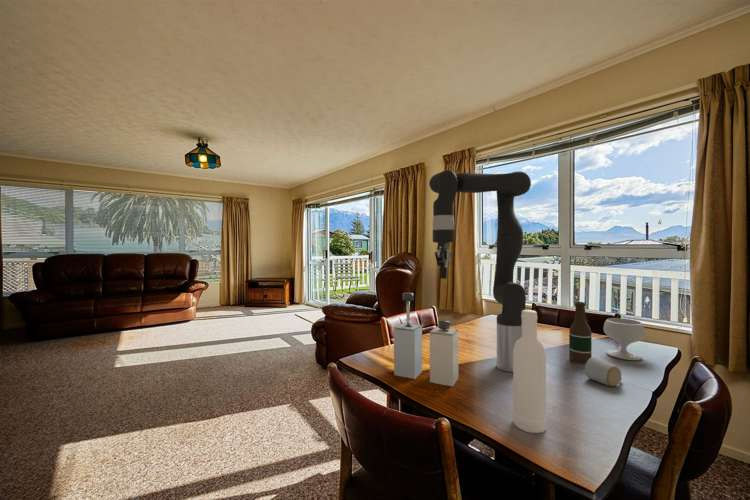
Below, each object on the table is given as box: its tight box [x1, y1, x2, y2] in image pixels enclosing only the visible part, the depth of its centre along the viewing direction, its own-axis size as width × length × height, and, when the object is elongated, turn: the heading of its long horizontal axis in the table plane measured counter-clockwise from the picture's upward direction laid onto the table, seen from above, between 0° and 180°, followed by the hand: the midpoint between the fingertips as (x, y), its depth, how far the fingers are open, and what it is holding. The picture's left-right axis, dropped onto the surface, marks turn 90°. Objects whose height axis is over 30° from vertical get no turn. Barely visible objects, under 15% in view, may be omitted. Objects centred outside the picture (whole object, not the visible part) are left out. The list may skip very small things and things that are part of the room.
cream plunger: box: [437, 319, 451, 332], centre depth 112 cm, size 6×6×15 cm
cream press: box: [429, 326, 459, 388], centre depth 112 cm, size 8×8×18 cm
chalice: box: [603, 317, 646, 361], centre depth 135 cm, size 14×14×15 cm
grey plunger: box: [402, 292, 414, 327], centre depth 118 cm, size 6×6×15 cm
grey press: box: [393, 322, 423, 380], centre depth 118 cm, size 8×8×18 cm
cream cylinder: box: [584, 356, 623, 387], centre depth 110 cm, size 11×8×8 cm
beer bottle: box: [568, 301, 593, 365], centre depth 130 cm, size 8×8×24 cm
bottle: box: [512, 309, 547, 434], centre depth 83 cm, size 8×8×30 cm
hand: (443, 278), depth 112 cm, fingers closed
